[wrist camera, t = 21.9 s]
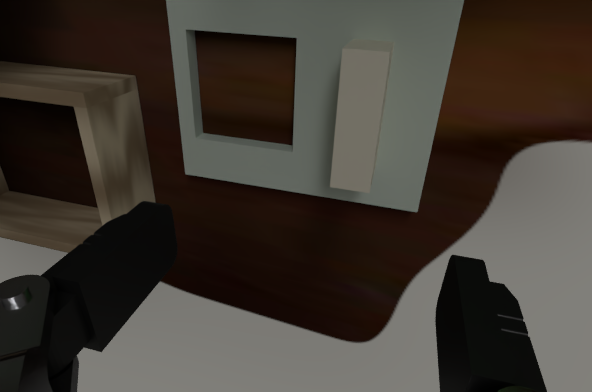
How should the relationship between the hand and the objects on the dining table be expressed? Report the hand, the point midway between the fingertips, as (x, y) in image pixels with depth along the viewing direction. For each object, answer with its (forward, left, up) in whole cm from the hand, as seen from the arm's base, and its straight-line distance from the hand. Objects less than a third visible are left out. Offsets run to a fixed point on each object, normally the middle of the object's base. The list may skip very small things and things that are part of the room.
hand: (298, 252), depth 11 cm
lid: (0, -4, -18) cm, 18 cm away
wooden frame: (+7, -26, -18) cm, 33 cm away
